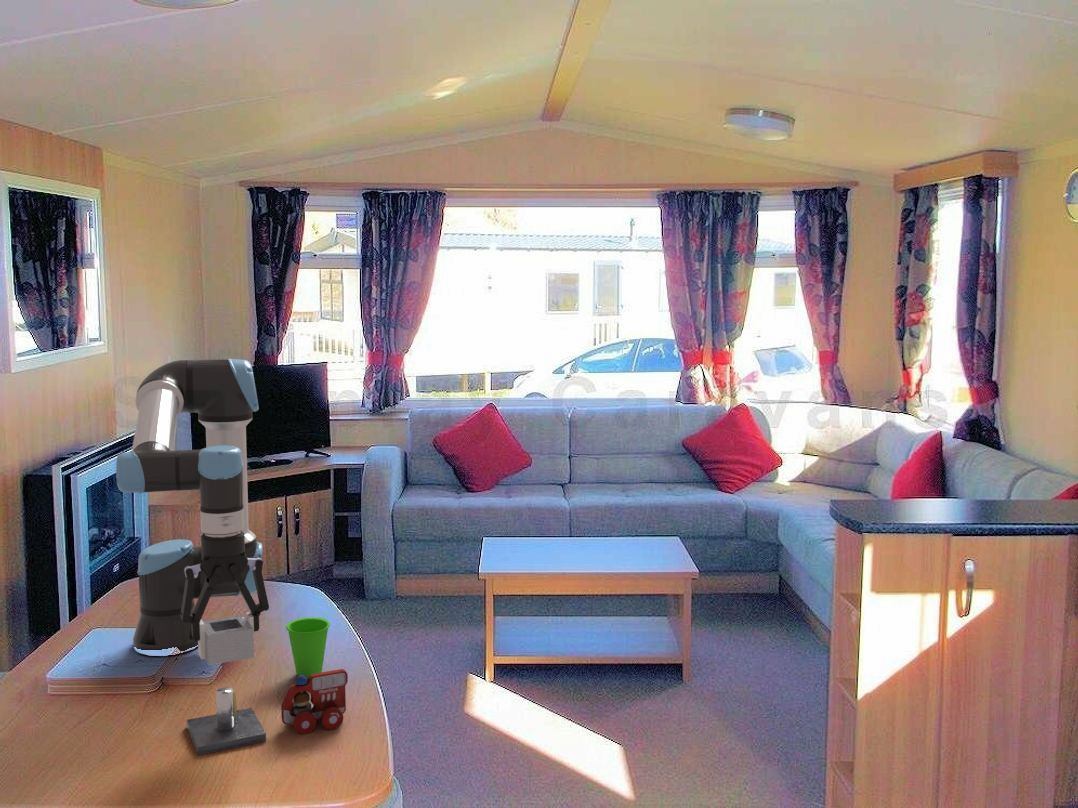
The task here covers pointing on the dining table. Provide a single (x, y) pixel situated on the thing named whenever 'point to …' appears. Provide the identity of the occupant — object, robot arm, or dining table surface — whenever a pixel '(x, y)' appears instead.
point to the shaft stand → (225, 726)
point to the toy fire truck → (316, 701)
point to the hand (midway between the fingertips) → (226, 652)
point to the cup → (308, 644)
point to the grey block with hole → (228, 640)
